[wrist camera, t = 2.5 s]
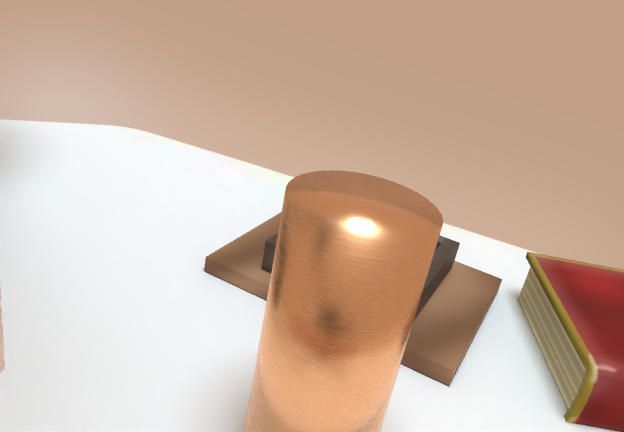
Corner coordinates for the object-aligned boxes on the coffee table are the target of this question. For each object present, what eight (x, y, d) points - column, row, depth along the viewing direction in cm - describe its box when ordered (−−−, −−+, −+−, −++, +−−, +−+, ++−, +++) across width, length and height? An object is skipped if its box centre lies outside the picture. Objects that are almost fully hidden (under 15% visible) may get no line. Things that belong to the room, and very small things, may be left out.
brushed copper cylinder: (215, 462, 25) (254, 198, 19) (283, 388, 29) (329, 159, 24) (333, 534, 23) (411, 261, 17) (387, 443, 27) (461, 205, 22)
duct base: (204, 270, 37) (209, 228, 36) (298, 212, 47) (304, 177, 46) (449, 386, 31) (465, 340, 30) (497, 291, 41) (511, 254, 40)
